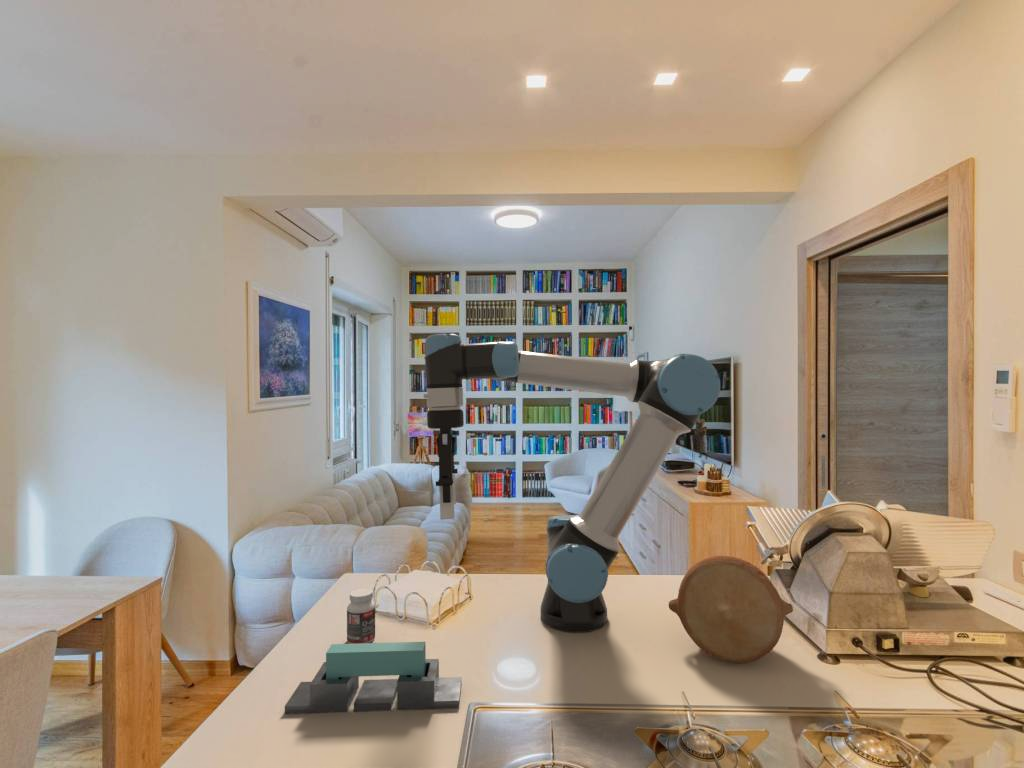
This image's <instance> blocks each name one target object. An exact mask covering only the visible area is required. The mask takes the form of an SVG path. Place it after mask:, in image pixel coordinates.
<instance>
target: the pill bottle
mask: <svg viewBox="0 0 1024 768" xmlns="http://www.w3.org/2000/svg"><path fill="white" fill-rule="evenodd" d="M373 597H374V591H373V590H372V589H371V588H366V587H365V588H364V587H363V588H359V589H358V588H357V589H354V590H352V591H350V593H349V601H350V602H349V604H348V605H347V607H346V641H347V644H359V643H373V642H374V640H375V638H376V602H375V601H374V600H373Z"/></svg>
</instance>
